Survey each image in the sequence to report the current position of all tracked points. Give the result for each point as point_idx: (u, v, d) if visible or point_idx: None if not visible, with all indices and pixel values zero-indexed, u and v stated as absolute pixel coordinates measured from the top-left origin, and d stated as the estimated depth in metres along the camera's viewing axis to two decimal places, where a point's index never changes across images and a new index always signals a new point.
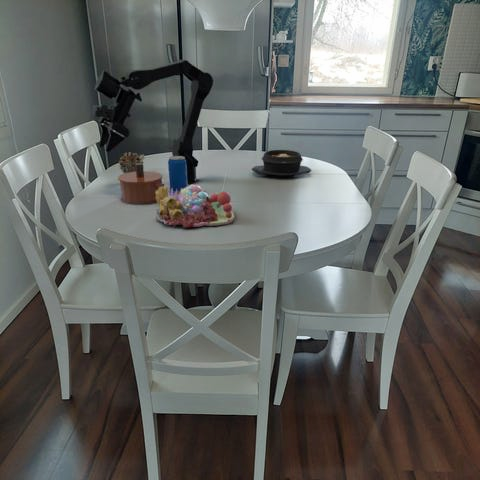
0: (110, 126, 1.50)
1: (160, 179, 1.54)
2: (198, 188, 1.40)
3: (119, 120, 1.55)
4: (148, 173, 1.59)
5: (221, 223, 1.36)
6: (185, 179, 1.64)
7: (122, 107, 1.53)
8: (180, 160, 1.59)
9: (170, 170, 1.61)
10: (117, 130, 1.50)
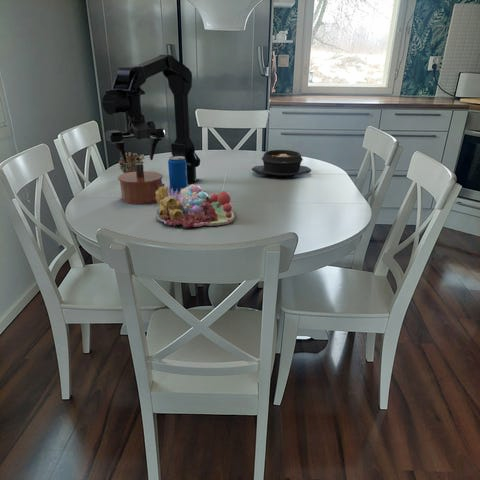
0: (160, 136, 1.50)
1: (160, 179, 1.54)
2: (198, 188, 1.40)
3: None
4: (148, 173, 1.59)
5: (221, 223, 1.36)
6: (185, 179, 1.64)
7: None
8: (180, 160, 1.59)
9: (170, 170, 1.61)
10: None
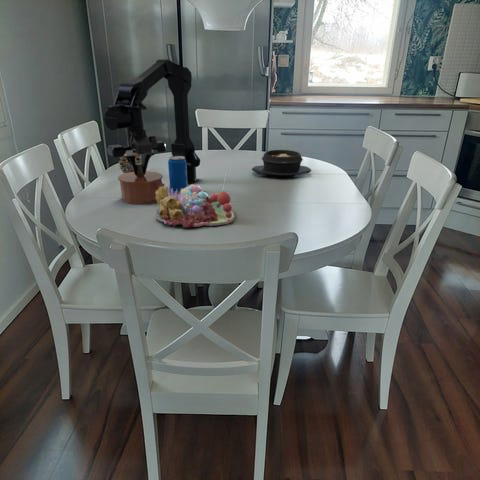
0: (161, 150, 1.53)
1: (160, 179, 1.54)
2: (198, 188, 1.40)
3: None
4: (148, 173, 1.59)
5: (221, 223, 1.36)
6: (185, 179, 1.64)
7: (143, 126, 1.48)
8: (180, 160, 1.59)
9: (170, 170, 1.61)
10: None
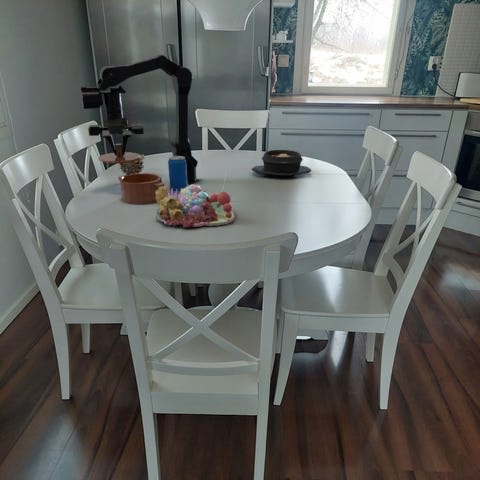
0: (138, 132, 1.59)
1: (134, 160, 1.61)
2: (198, 188, 1.40)
3: None
4: (131, 154, 1.68)
5: (221, 223, 1.36)
6: (185, 179, 1.64)
7: (121, 109, 1.56)
8: (180, 160, 1.59)
9: (170, 170, 1.61)
10: (143, 131, 1.61)
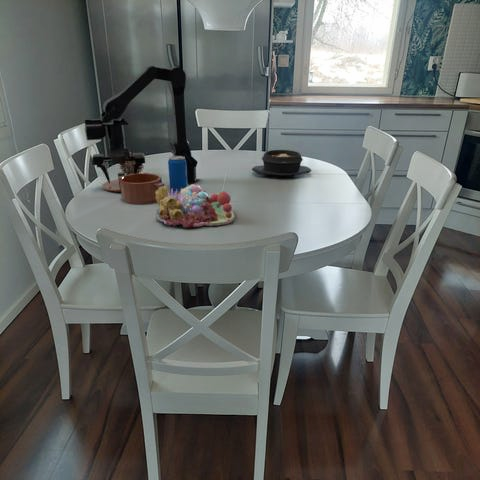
0: (139, 162, 1.65)
1: None
2: (198, 188, 1.40)
3: None
4: None
5: (221, 223, 1.36)
6: (185, 179, 1.64)
7: (124, 139, 1.62)
8: (180, 160, 1.59)
9: (170, 170, 1.61)
10: None
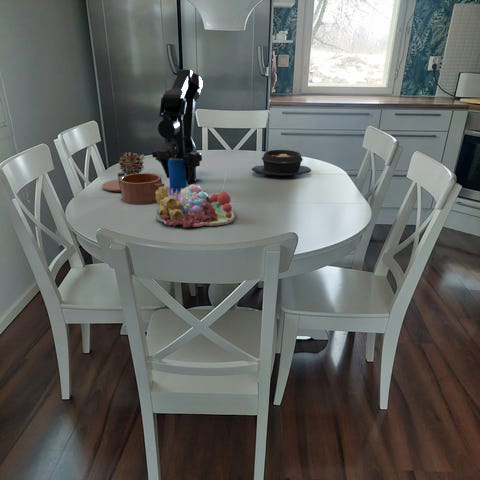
0: (187, 161, 1.55)
1: None
2: (198, 188, 1.40)
3: (182, 148, 1.58)
4: None
5: (221, 223, 1.36)
6: (185, 179, 1.64)
7: (180, 135, 1.56)
8: (180, 160, 1.59)
9: (170, 170, 1.61)
10: (195, 160, 1.56)
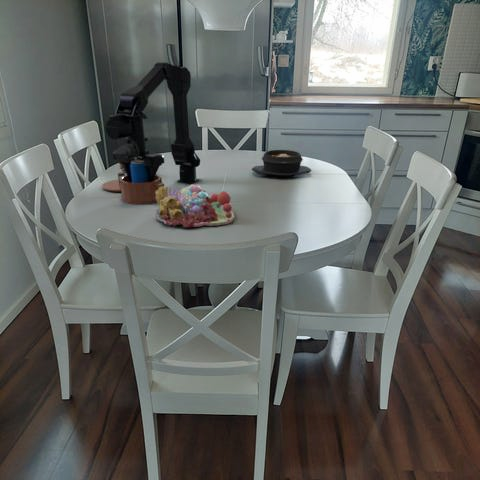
0: (148, 163, 1.47)
1: None
2: (198, 188, 1.40)
3: (143, 149, 1.50)
4: None
5: (221, 223, 1.36)
6: None
7: (140, 137, 1.47)
8: (142, 164, 1.52)
9: (132, 175, 1.54)
10: (157, 163, 1.48)
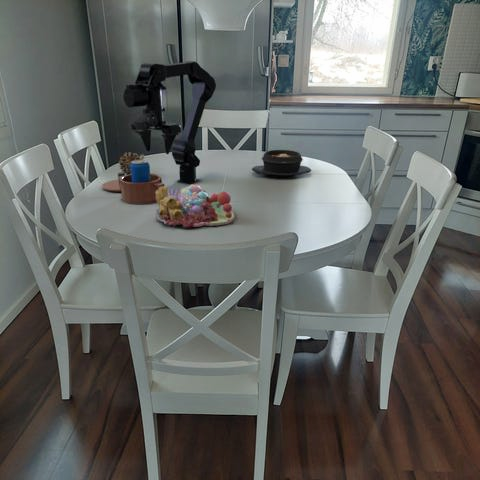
0: (166, 132, 1.54)
1: None
2: (198, 188, 1.40)
3: (161, 119, 1.57)
4: None
5: (221, 223, 1.36)
6: None
7: (158, 106, 1.54)
8: (142, 164, 1.52)
9: (132, 175, 1.54)
10: (174, 132, 1.54)
